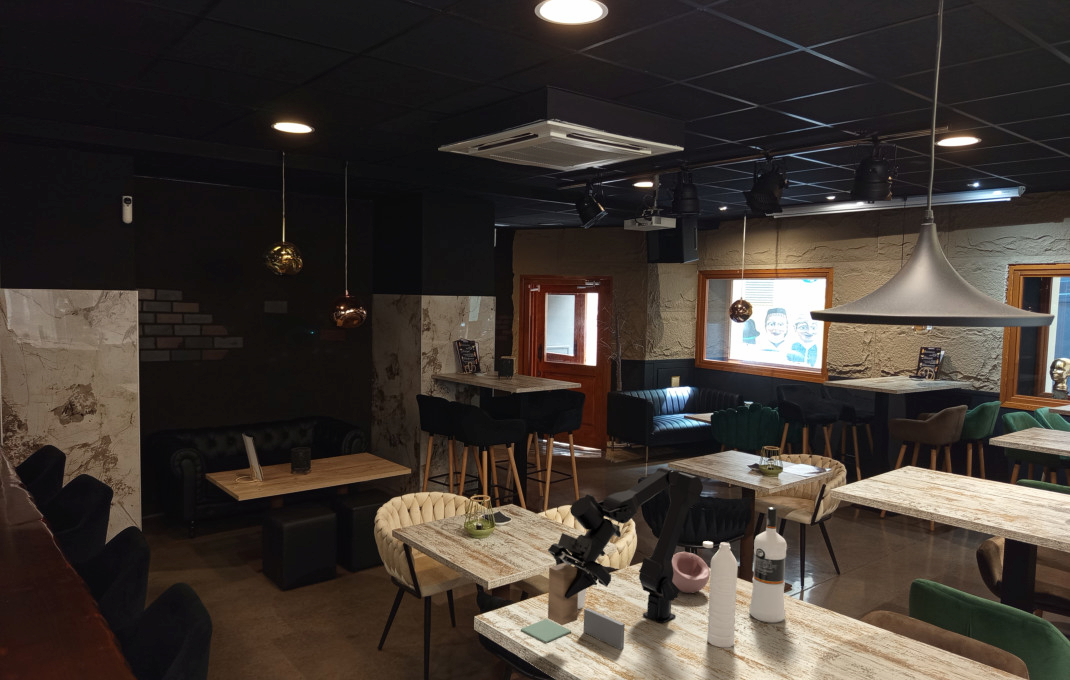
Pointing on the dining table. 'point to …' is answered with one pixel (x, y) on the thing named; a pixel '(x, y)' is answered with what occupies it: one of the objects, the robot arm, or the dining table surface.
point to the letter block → (562, 594)
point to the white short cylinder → (581, 598)
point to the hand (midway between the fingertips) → (558, 593)
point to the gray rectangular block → (604, 628)
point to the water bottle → (722, 596)
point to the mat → (545, 630)
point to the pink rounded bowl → (689, 572)
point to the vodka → (769, 573)
